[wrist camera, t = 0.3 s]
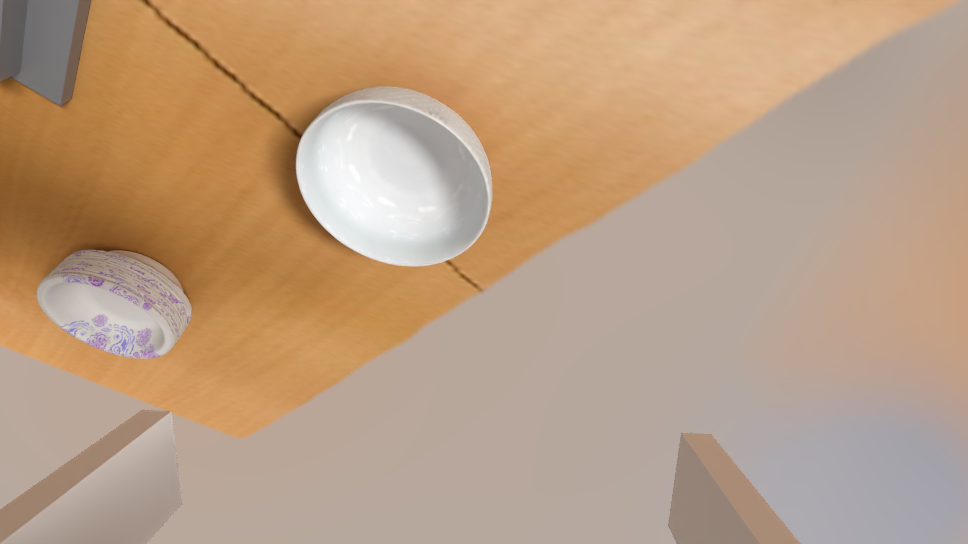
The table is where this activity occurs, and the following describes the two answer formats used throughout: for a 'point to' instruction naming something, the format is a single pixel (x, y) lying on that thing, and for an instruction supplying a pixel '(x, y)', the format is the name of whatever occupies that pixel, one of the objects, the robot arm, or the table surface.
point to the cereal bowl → (395, 176)
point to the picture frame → (42, 44)
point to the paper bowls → (116, 302)
